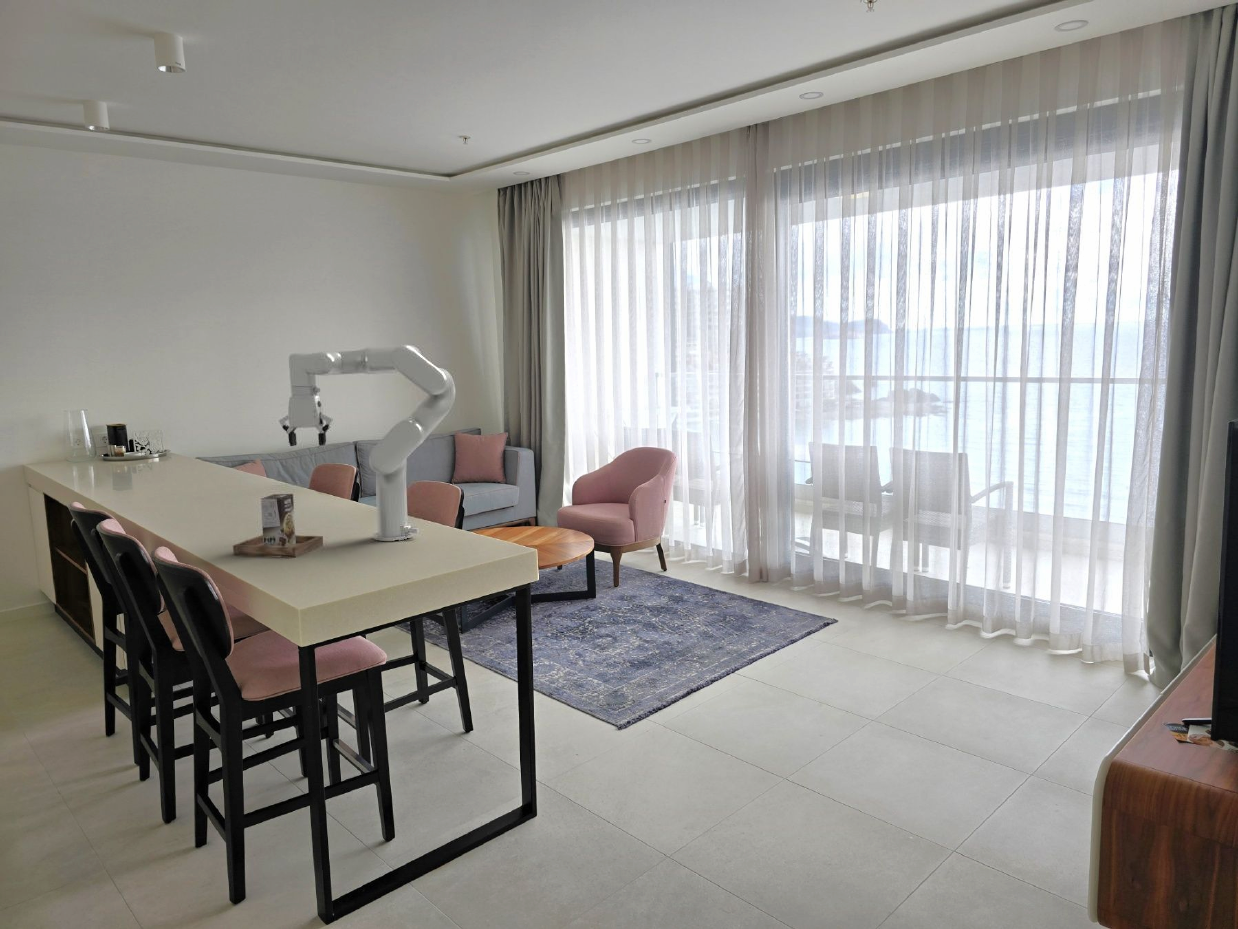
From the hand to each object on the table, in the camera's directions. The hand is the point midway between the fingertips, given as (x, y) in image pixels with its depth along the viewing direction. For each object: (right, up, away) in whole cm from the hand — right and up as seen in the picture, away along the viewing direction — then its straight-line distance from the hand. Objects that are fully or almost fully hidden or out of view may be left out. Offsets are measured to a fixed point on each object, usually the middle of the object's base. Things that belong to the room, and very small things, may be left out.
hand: (307, 445), depth 261 cm
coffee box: (-4, -32, -12) cm, 34 cm away
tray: (-4, -32, -12) cm, 35 cm away
